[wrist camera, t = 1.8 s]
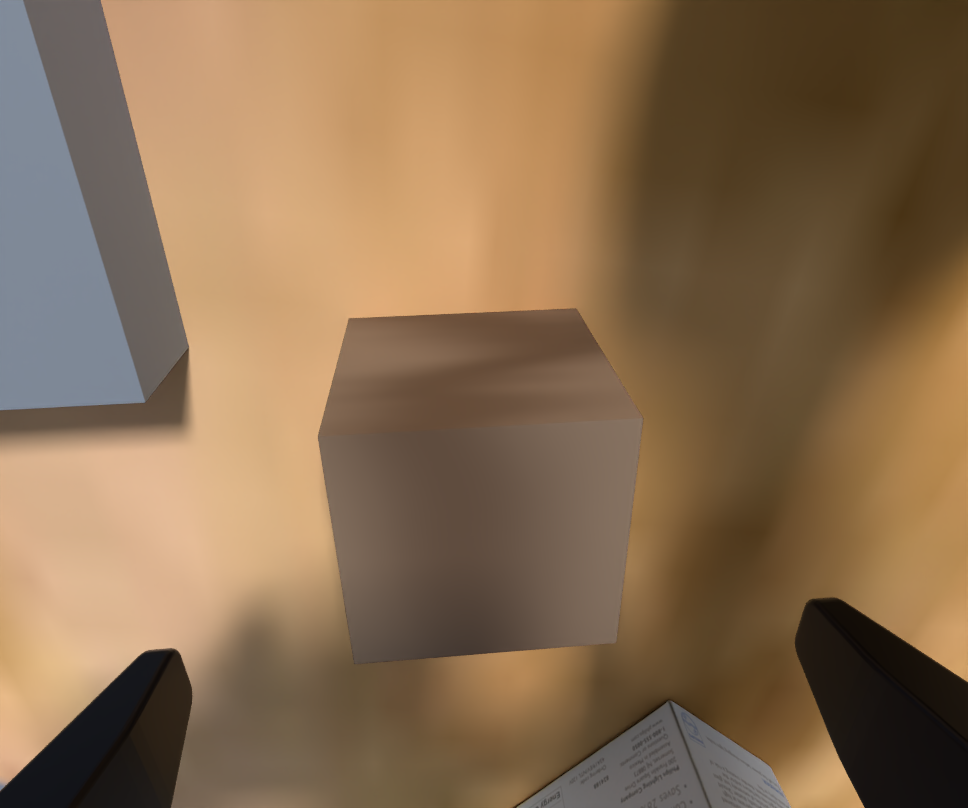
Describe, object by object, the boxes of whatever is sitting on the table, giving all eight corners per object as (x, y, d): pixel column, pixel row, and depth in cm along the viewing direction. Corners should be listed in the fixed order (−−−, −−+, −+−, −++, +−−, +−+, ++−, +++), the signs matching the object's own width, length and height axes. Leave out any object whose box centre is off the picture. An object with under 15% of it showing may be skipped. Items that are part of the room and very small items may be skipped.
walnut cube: (575, 307, 14) (643, 418, 10) (565, 489, 17) (616, 643, 12) (349, 316, 14) (317, 436, 10) (371, 501, 16) (354, 664, 12)
